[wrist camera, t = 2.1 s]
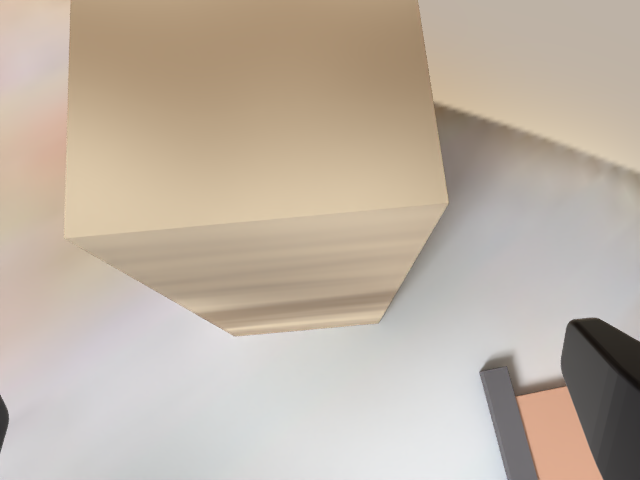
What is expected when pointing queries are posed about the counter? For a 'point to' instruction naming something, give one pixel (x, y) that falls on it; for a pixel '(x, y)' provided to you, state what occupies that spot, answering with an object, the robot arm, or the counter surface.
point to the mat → (537, 432)
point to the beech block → (254, 154)
